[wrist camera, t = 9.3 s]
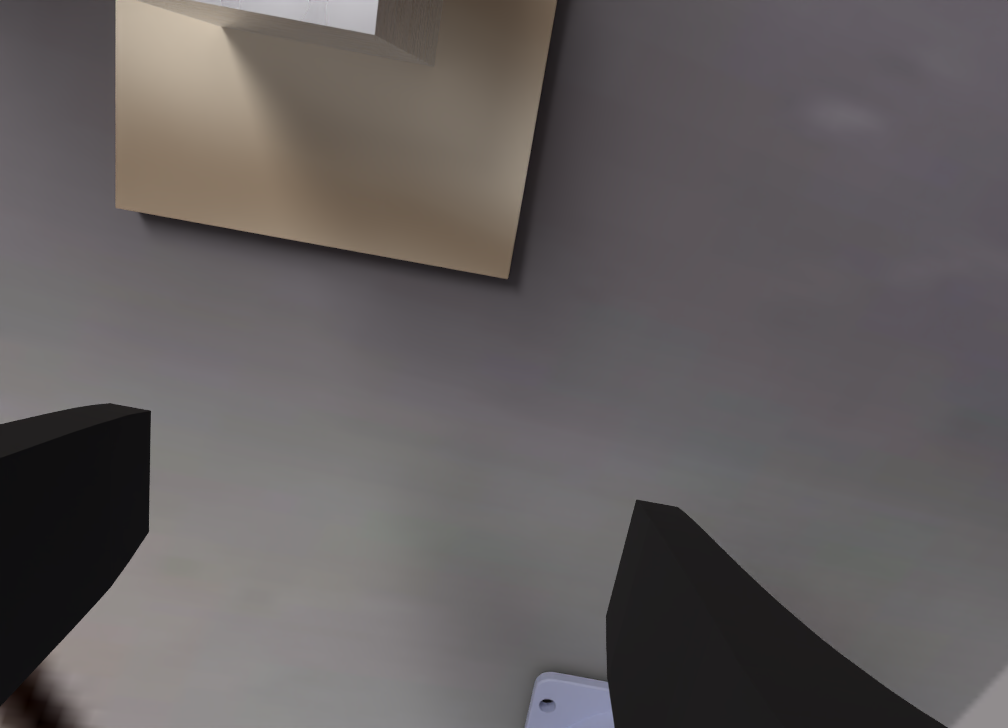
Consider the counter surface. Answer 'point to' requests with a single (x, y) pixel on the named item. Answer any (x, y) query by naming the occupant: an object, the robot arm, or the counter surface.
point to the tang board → (335, 132)
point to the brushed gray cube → (330, 23)
